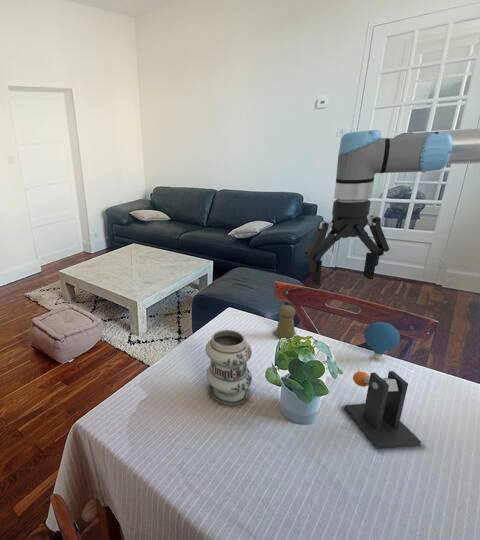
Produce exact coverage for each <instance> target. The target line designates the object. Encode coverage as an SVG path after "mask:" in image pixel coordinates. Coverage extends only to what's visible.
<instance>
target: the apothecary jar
mask: <svg viewBox="0 0 480 540" xmlns="http://www.w3.org/2000/svg"><path fill="white" fill-rule="evenodd" d="M204 351H205V354H206V356H207V357H208V358H209V361H210V362H209V363H210V365H208V368H207V369H206V373H205V377H206V381H207V382H208V384H209V385H210V386H211V387H210V394H211V396H212V397H213V398H214V399H215V400H216V401H217V402H218V403H221V404H225V405H229V406H232V405H233V406H234V405H238V404H241V403H243V402H245V401H246V399H247V398H248V390H247V389H248V388H249V387H250V386H251V384H252V380H253V375H252V373H251V371H250V369H249V368H248V364H247V362H248V361H249V360H250V359H251V357H252V352H253V351H252V347H251V345H250V344H249V343H248V342H247V341H246V337H245V336H244V335H243V334H242V333H241V332H240V331H236V330H234V329H233V330H232V329H221V330H218V331H215V332H213V333H212V334H211V339H210V340H208V341H207V343H206V345H205V350H204Z"/></svg>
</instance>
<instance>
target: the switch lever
mask: <svg viewBox="0 0 480 540" xmlns="http://www.w3.org/2000/svg"><path fill="white" fill-rule="evenodd" d="M381 378H382V379H383V380H384V381H385V382H386V383H387V384H388V385H389V389H388V392H391V391H398V386H397V382H396V379H390V378H388V377H381ZM369 380H370V374H368V373H366V372H364V371H356V372H355V373H353V376H352V381H353V382H354V383H355V385H357V386H358V387H362V388H364V387H365V388H366V387H368V385H369Z"/></svg>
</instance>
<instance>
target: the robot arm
mask: <svg viewBox="0 0 480 540" xmlns="http://www.w3.org/2000/svg"><path fill="white" fill-rule="evenodd" d="M381 135H382V132H381V130H379V129H370V130H360V131H358V130H357V131H351V132H346V133H344V134H343V135H342V136H341V137H340V142H339V143H340V144H339V149H338V154H337V155H338V156H337V166H336V174H335V175H336V176H335V187H334V193H333V194H334V196H333V199H335V200H334V201H333V202H332V211H331V212H332V213H331V215H332V219H331V221H324V220H320V221H318V223H317V228H316V230H315V233H314V234H313V236H312V238H311V239H310V241H309V242H308V244H307V246H306V248H305V250H304V251H303V252H302V256H303V258H305V259H307V260H309V268H308V269H309V271H310V272H311V282H312V283H313V284H314V285H316V286H318V285H319V286H320V285H321V277H322V267H323V266H322V265H323V260H321V259H322V257H323V256H324V255H325V254H326V253H327V252H328V251H329V250H330V249H331V247H332V246H334V244H335V243H337V241H340V240H341V239H348V238H356V237H358V239H359V240H360V241H361V242H362V243H363V245H364V246H365V248H366V249H368V250H369V252H366V255H365V260H364V268H363V274H362V277H364V278H367V279H368V280H369V281H370V280H374V277H375V276H374V275H375V271H376V267H378V265H379V260H380V257H382V256H383V255H384V254H385V253H387V252H389V251H390V246H389V244H388V241H387V239H386V236H385V233H384V231H383V229H382V226H381V224H382V223H381V222H382V218H381V217H379V216H376V215H370V210H371V204H372V203H371V202H372V201H370V199H372V197H373V190H374V181H375V175H376V174H390V173H391V174H392V173H393V174H394V173H418V172H419V173H426V172H433V171H441V170H443V169H445V168H446V167H447V165H466V164H469V165H471V164H480V128H468V129H465V128H464V129H454V130H453V129H451V130H438V131H426V132H425V131H424V132H411V131H409V132H402V133H400V134H397V135H396V136H394V137H390V138H389V137H387V138H386V137H382V136H381ZM369 215H370V216H369ZM368 216H369V217H368ZM367 225H368V227H369V230H370V233H371V235H372V238H373V239H374V240H373V239H372V238H371V237H370V236H369V233H368V232H367V230H366V229H365V228H366V226H367Z"/></svg>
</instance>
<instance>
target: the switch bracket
mask: <svg viewBox="0 0 480 540" xmlns="http://www.w3.org/2000/svg"><path fill="white" fill-rule="evenodd" d="M369 377H370V380H369V385H368V386H367V390H366V391H367V392H366V397H365V403H354V404H353V403H352V404H345V405H344V408H343V409H344V411H345V412H346V413H347V414H348V415H349V417H350V418H351V419H352V420H353V421H354V423H355V424H356V425H357V426H358V428H360V430H361V431H362V432H363V433H364V435H366V437H367V438H368V440H369V441H371V443H372V444H373V445H374V447H375V448H376V449H377V450H380V449H397V448H409V447H419V446H421V443H422V441H421V440H420V439H419V438H418V437H417V436H416V435H415V434H414V433H413V432H412V431H411V430H410V429H409V428H408V427H407V426H406V425H405V424H404V423H403V422H402V421H401V418H402V413H403V410H404V404H405V400H406V396H407V391H408V387H409V383H408V382H407V381H406V380H405V379H403V378H402V377H401V376H400V375H399V374H397V373H396V372H395V371H394V370H389V371H388V372H387V378H390V379H396V382H397V386H398V391H391V392H388V389H389V385H388V384H387V383H386V382H385V381H384V380H383V379H382V378H383V377H381V376H379V375H378V374H377V373H376V372H370V374H369Z"/></svg>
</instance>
